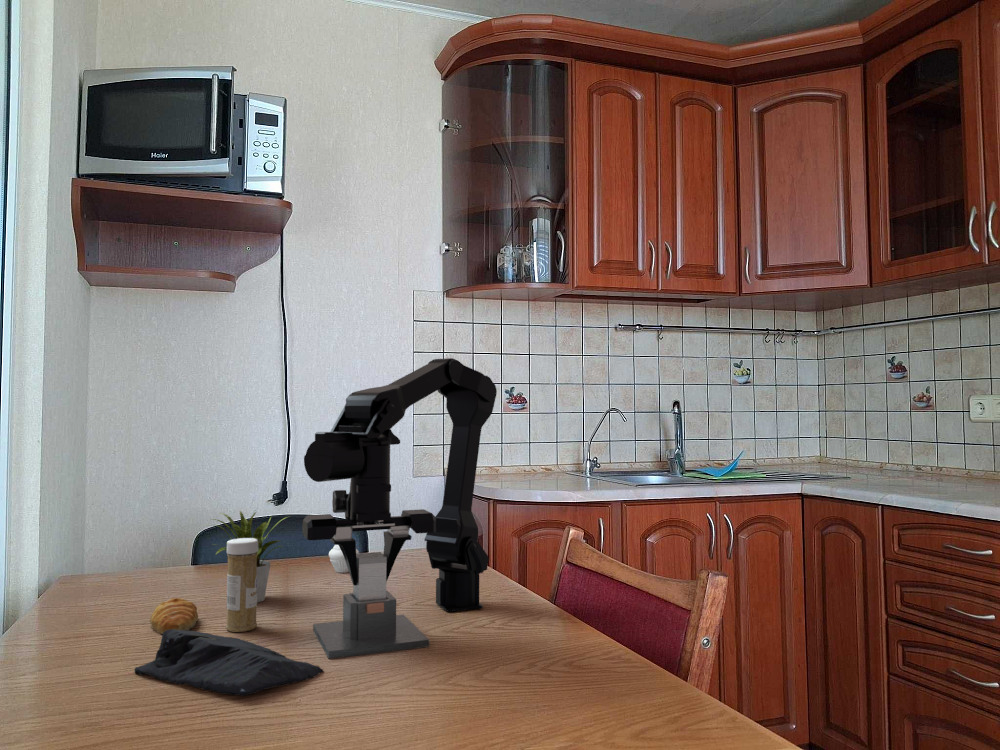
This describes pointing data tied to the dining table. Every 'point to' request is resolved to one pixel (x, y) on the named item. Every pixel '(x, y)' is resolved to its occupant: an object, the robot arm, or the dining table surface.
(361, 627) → the stand
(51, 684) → the dining table surface
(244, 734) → the dining table surface
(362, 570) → the column
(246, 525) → the house plant
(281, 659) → the dark slate chunk
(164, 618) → the pastry
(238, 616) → the sprinkles bottle
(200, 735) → the dining table surface
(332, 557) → the muffin
